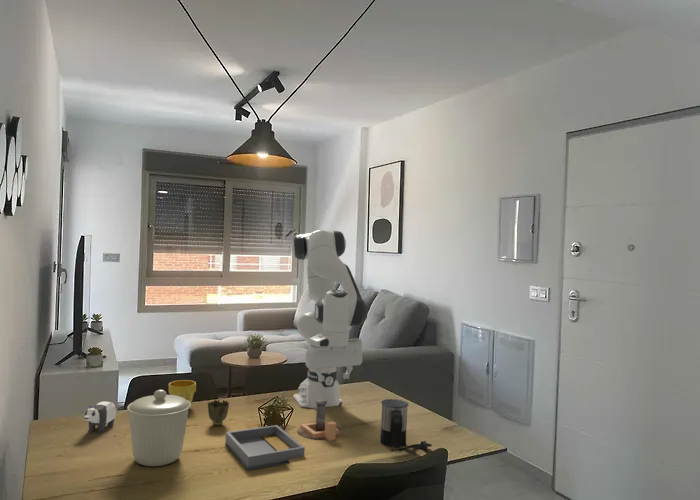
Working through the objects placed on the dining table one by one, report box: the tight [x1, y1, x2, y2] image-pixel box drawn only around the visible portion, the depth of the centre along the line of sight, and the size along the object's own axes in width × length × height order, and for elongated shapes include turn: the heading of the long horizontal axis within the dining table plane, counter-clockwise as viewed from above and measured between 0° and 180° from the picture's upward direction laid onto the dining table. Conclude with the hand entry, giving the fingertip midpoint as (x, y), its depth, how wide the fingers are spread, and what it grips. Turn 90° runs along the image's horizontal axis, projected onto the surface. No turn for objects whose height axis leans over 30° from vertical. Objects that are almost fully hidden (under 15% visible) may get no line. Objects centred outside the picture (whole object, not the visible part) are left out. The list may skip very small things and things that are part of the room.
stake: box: [296, 400, 344, 441], centre depth 189 cm, size 16×16×12 cm
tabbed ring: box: [300, 420, 340, 442], centre depth 187 cm, size 14×10×6 cm
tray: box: [225, 424, 305, 471], centre depth 172 cm, size 22×18×4 cm
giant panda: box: [83, 401, 117, 434], centre depth 184 cm, size 15×6×10 cm, turn 174°
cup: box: [207, 399, 230, 427], centre depth 195 cm, size 8×7×8 cm
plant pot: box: [168, 379, 197, 410], centre depth 212 cm, size 10×10×10 cm
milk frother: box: [379, 398, 433, 452], centre depth 181 cm, size 14×16×15 cm
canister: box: [126, 389, 192, 467], centre depth 163 cm, size 18×18×21 cm
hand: (333, 380), depth 182 cm, fingers open, 8 cm apart
